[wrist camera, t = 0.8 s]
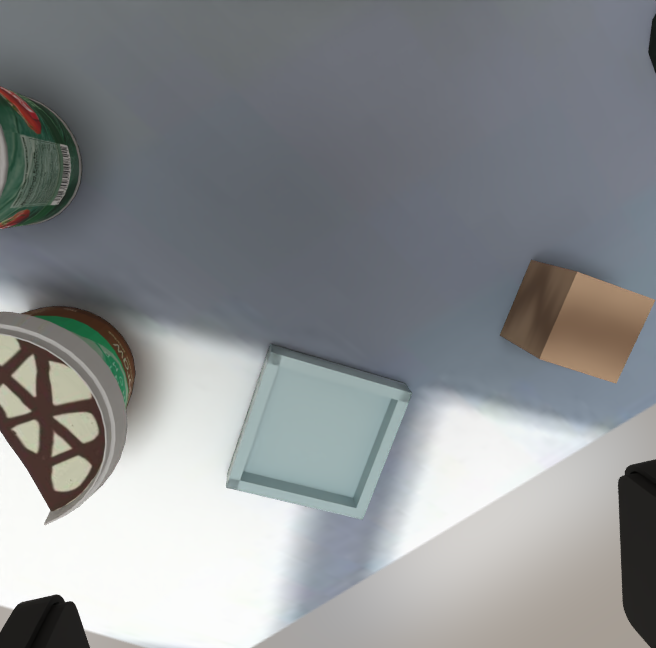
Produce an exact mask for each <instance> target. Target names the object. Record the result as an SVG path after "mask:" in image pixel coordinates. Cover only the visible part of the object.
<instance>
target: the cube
mask: <svg viewBox="0 0 656 648" xmlns="http://www.w3.org/2000/svg"><path fill="white" fill-rule="evenodd" d="M654 302H655V300H654V299H651V298H648V297H646V296H643V295H640V294H637V293H634V292H632V291H629V290H626V289H623V288H621V287H618V286H615V285H612V284H610V283H607V282H604V281H601V280H599V279H596V278H593V277H590V276H588V275H585V274H582V273H579V272H576V271H573V270H569V269H565V268H561V267H557V266H553V265H549V264H545V263H541V262H538V261H534V260H531V262H530V264H529V266H528V269H527V271H526V274H525V276H524V278H523V281H522V283H521V286H520V288H519V290H518V293H517V295H516V298H515V300H514V302H513V305H512V307H511V310H510V312H509V314H508V317H507V319H506V322H505V324H504V326H503V329H502V331H501V334H500V336H502V337H504V338H505V339H507V340H509V341H510V342H512V343H514V344H515V345H517V346H519V347H520V348H522V349H524V350H525V351H527V352H529V353H530V354H532V355H534V356H535V357H537V358H539V359H541V360H544V361H547V362H551V363H554V364H557V365H560V366H563V367H566V368H569V369H572V370H576V371H579V372H582V373H585V374H588V375H591V376H594V377H597V378H600V379H604V380H607V381H610V382H613V383H617V381H618V378H619V376H620V374H621V372H622V370H623V368H624V366H625V364H626V361H627V359H628V357H629V355H630V353H631V351H632V349H633V346H634V344H635V342H636V340H637V338H638V336H639V334H640V332H641V329H642V327H643V325H644V323H645V321H646V319H647V317H648V315H649V312H650V310H651V308H652V306H653V304H654Z"/></svg>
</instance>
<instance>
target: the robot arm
mask: <svg viewBox="0 0 656 648" xmlns="http://www.w3.org/2000/svg"><path fill="white" fill-rule="evenodd" d="M618 490H619V491H618V493H619V519H620V541H621V543H620V544H621V569H622V593H623V594H622V595H623V607H624V610H625V613H626V616H627V618H628V620H629V622H630V623H631V625H632V626H633V627H634V629H635V630H636V631H637V632H638V634H639V635H640V636H641V637H642V638H643V639H644V640H645V642H646V643H647V644H648V645H649V646H650V647H651V648H656V460H651V461H646V462H642V463H638V464H633V465H630V466H628V467H627V468H626V470H625V475H624V476H622V477H620V479H619V482H618ZM0 648H90V647H89V644H88V640H87V638H86V634H85V631H84V628H83V625H82V622H81V619H80V616H79V613H78V610H77V608H76V605H75V604H74V603H73V602H71V601H69V602H65V601H64V599H63V598H62V597H61V596H60V595H52V596H48V597H43V598H39V599H34V600H30V601H25V602H22V603H20V604H18V605H17V606H16V607H15V609H14V610H13V612H12V614H11V615H10V617H9V618H8V620H7V622H6V623H5V625H4V627H3V628H2V630H1V632H0Z"/></svg>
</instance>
